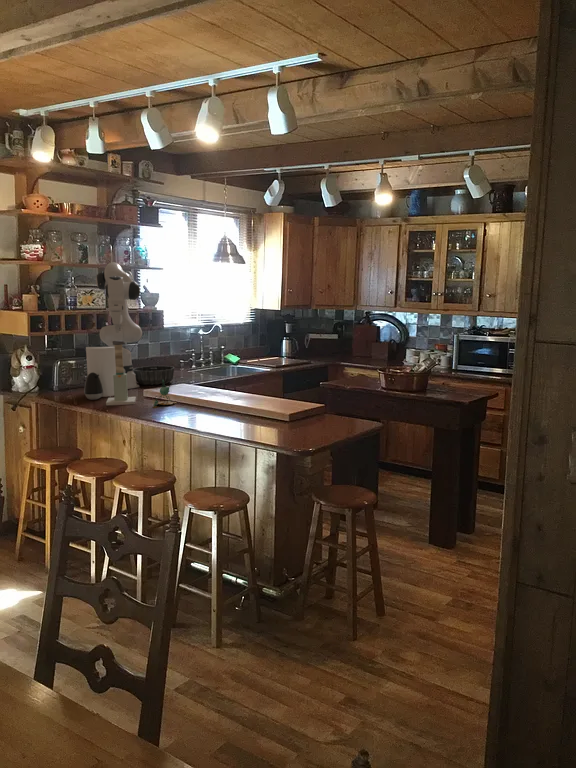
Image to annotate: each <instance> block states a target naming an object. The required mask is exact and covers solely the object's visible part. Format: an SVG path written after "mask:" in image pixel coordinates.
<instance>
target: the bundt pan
mask: <svg viewBox="0 0 576 768" xmlns="http://www.w3.org/2000/svg"><path fill="white" fill-rule="evenodd" d="M132 371H133V372H134V373H135V377H136V383H137V384H139V385H144V386H148V385H151V386H154V385H156V386H158V385H163V383H162V380H164V383H165V384H168V383H171V382H172V380H173V378H174V373H175V372H174V371H175V367H174V366H169V365H148V366H141V367H140V366H139V367H133V370H132Z"/></svg>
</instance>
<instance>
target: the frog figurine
mask: <svg viewBox="0 0 576 768" xmlns="http://www.w3.org/2000/svg"><path fill="white" fill-rule="evenodd" d="M162 383H163V384H161V387H160V388H159V394H160V396H157V395H156V396H155V397H154V399H155V401H154V402H153V403H152V404H153V406H152V409H157V408H160V407H161V406H170V405H173V404H177V402H176V401H172V400H171V398H170V397H169V396H168V394H169V393H170V388H171V386H170V385H169V384H167V385H168V386H167V385H165V383H164V380H162ZM156 397H157V398H156ZM162 397H163V399H165V398H166V400H162V401H158V400H159V399H161V398H162ZM158 405H159V406H158ZM160 405H161V406H160Z"/></svg>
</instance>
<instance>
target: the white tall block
mask: <svg viewBox="0 0 576 768" xmlns="http://www.w3.org/2000/svg"><path fill="white" fill-rule="evenodd" d="M85 353H86V354H85V355H86V371H87V376H88V375H89V374H90V373H92V372H94V373H96V374H97V375H99V378H100V381H101V384H102V388H103V393H102V396H101V398H102V397H103V398H105V397H113V396H114V380H113V375H114V374H116V363H115V347H109V346H86V347H85Z"/></svg>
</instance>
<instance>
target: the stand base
mask: <svg viewBox="0 0 576 768" xmlns="http://www.w3.org/2000/svg"><path fill="white" fill-rule="evenodd" d="M113 380H114V397H108V398H107V400H106V402H105V406H121V405H122V406H124V405H135V404H136V401H137V396H129V395H128V394H129V393H128V389H127V374H126V373H124V375H116V374H114V375H113Z"/></svg>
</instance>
